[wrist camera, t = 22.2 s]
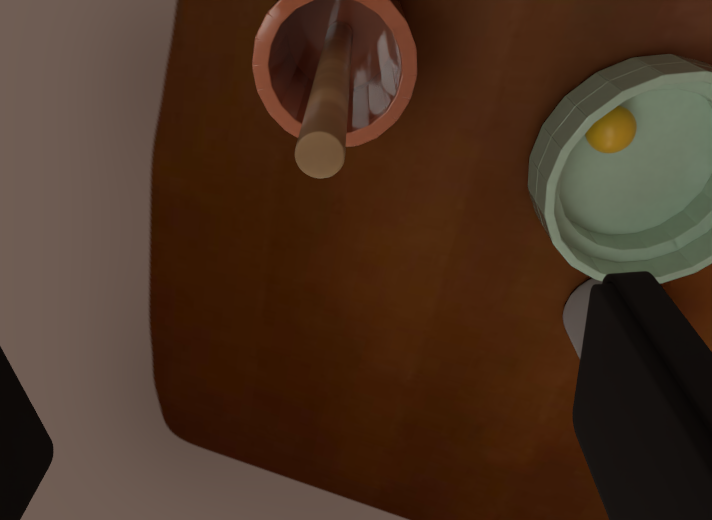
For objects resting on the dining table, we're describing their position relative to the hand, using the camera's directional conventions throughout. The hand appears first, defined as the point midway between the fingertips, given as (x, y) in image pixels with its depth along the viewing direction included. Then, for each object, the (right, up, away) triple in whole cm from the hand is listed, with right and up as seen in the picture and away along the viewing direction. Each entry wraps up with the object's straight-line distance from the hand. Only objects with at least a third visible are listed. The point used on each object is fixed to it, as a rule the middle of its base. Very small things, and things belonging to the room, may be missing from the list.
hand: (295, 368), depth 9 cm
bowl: (+20, +9, +31) cm, 38 cm away
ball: (+17, +10, +28) cm, 34 cm away
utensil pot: (0, +16, +27) cm, 31 cm away
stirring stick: (0, +15, +26) cm, 30 cm away
